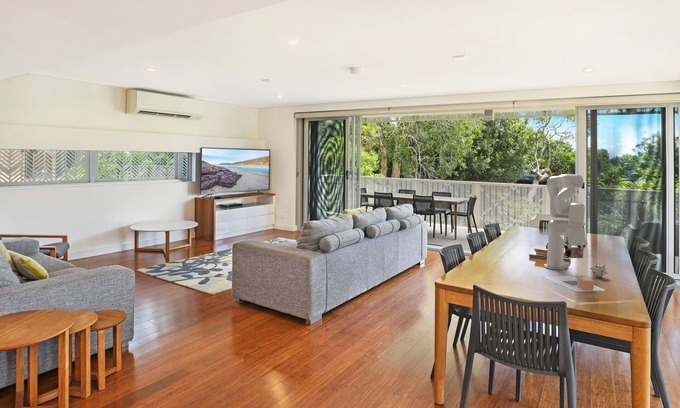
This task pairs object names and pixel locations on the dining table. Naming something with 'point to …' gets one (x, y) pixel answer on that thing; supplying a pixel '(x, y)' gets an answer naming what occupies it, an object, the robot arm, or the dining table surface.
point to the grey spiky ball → (599, 270)
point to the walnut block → (576, 252)
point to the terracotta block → (585, 283)
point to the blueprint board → (571, 283)
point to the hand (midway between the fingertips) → (573, 256)
